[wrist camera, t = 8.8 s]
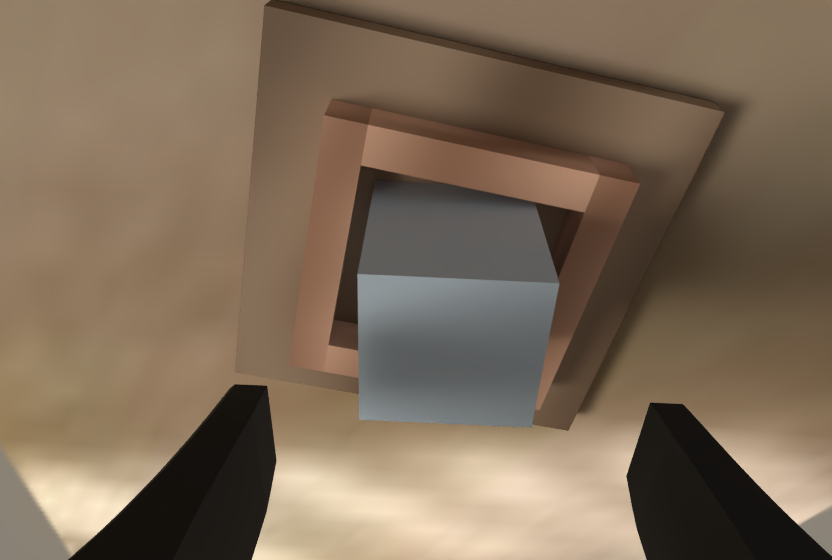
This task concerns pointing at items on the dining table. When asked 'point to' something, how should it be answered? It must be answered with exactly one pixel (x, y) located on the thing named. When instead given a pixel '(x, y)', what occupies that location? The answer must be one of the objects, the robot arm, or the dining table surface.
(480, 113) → the base plate
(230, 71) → the dining table surface
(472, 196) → the block
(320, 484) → the dining table surface
